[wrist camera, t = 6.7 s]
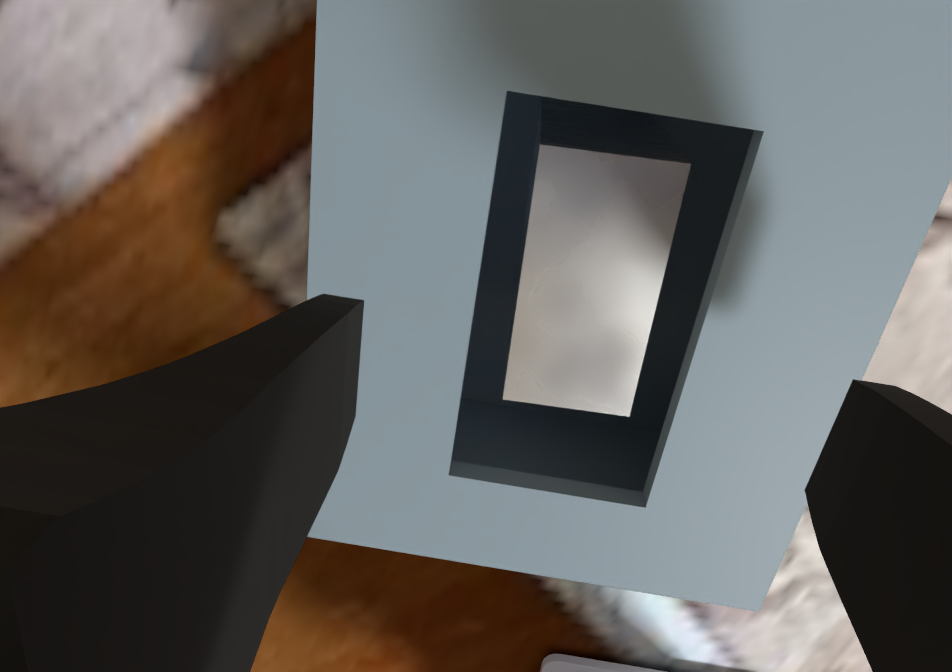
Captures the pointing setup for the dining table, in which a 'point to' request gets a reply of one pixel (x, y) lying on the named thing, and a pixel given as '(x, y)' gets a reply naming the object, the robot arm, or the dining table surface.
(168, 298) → the dining table surface
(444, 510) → the grey tissue box
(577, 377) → the white block
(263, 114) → the dining table surface
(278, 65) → the dining table surface
